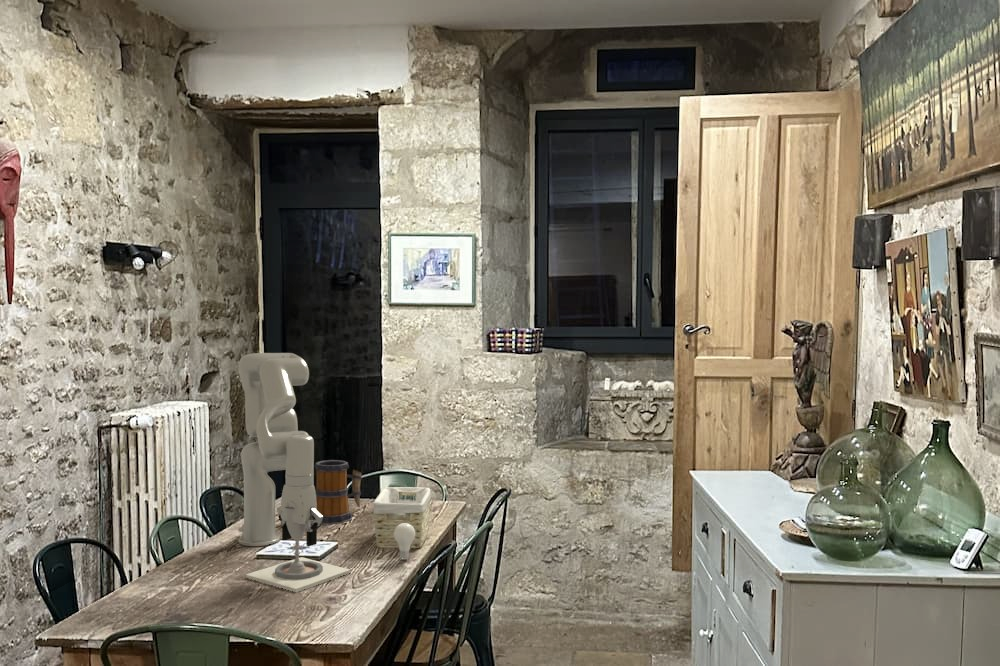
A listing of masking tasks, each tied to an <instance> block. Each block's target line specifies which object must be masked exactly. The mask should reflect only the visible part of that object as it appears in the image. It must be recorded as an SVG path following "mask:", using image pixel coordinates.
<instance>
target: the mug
mask: <svg viewBox="0 0 1000 666" xmlns="http://www.w3.org/2000/svg"><path fill="white" fill-rule="evenodd" d="M314 468H315V470H316V487H315V493H316V503H317V511H318V512H319V513H320V514H321V515H322V516H323V520H322V522H321V525H338V524H337V523H340V524H344V522H345V523H348V522H351V520H352V519H353V516H352V513H351V511H350V509H349V507H350V506H349V498H352V497H353V499H354V502H355V504H356V505H357V507H358V508H361V507H360V506H361V503H360V500H361V499H360V496H361V495H362V494H361V493H362V492H361V481H362V472H361V471H359V470H357V469H356V470H355V469H353V470H352V474H347V471H348V469H349V468H350V466H349V462H348V461H345V460H339V459H338V460H337V459H328V460H320V461H316V462H315V463H314ZM348 478H351V489H352V492H351V493H349V488H348V486H347V485H348V484H347V482H348V480H347V479H348Z"/></svg>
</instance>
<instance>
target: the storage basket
mask: <svg viewBox="0 0 1000 666" xmlns="http://www.w3.org/2000/svg"><path fill="white" fill-rule="evenodd" d="M431 491H432V490H431V489H430V487H420V486H419V487H415V486H413V487H412V486H409V487H408V486H407V487H406V486H385V487H383V489H382V490H381V491H380V493H379V494H378V495H377V497H376V498H375V500H374V502H373V507H372V509H373V511H372V513H373V516H374V518H373V519H374V529H375V530H374V531H375V532H374V533H375V538H376V547H377V548H379V549H386V548H387V549H399V546H398V544H397V542H396V541H395V538H394V530H395V528H396V527H397V526H398V525H399V524H401V523H408V524H410V525H412V526H413V528H414V529H415V538H414V540H413V542H412V543H411V546H410V549H411V548H414V549H421V548H422V547H423V544H424V542H425V540H426V538H427V535H428V531H429V529H430V528H429V523H430V522H429V521H430V516H429V515H430V504H431V503H430V502H431V496H432V493H431ZM400 496H416V500H415V501H413V500H412V501H410V500H408V501H407V500H406V501H405V500H400Z"/></svg>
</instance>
